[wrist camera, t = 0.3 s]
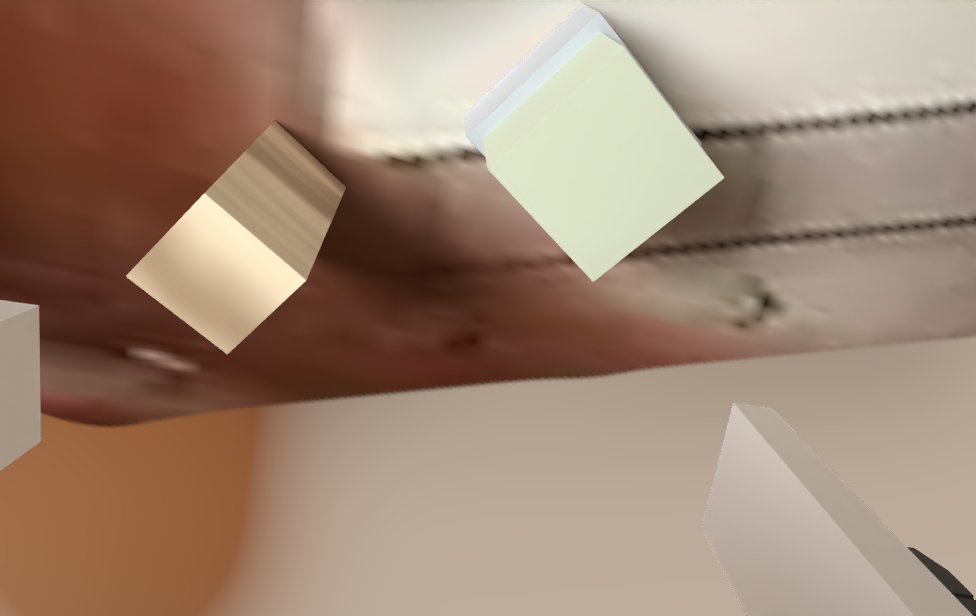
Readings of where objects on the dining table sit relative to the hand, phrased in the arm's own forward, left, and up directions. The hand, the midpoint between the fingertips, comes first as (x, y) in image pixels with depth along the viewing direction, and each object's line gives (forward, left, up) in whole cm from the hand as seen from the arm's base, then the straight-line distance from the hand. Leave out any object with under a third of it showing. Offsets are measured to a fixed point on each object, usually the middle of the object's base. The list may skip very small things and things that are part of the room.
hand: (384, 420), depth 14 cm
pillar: (+9, -3, -27) cm, 29 cm away
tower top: (-5, +6, -22) cm, 24 cm away
